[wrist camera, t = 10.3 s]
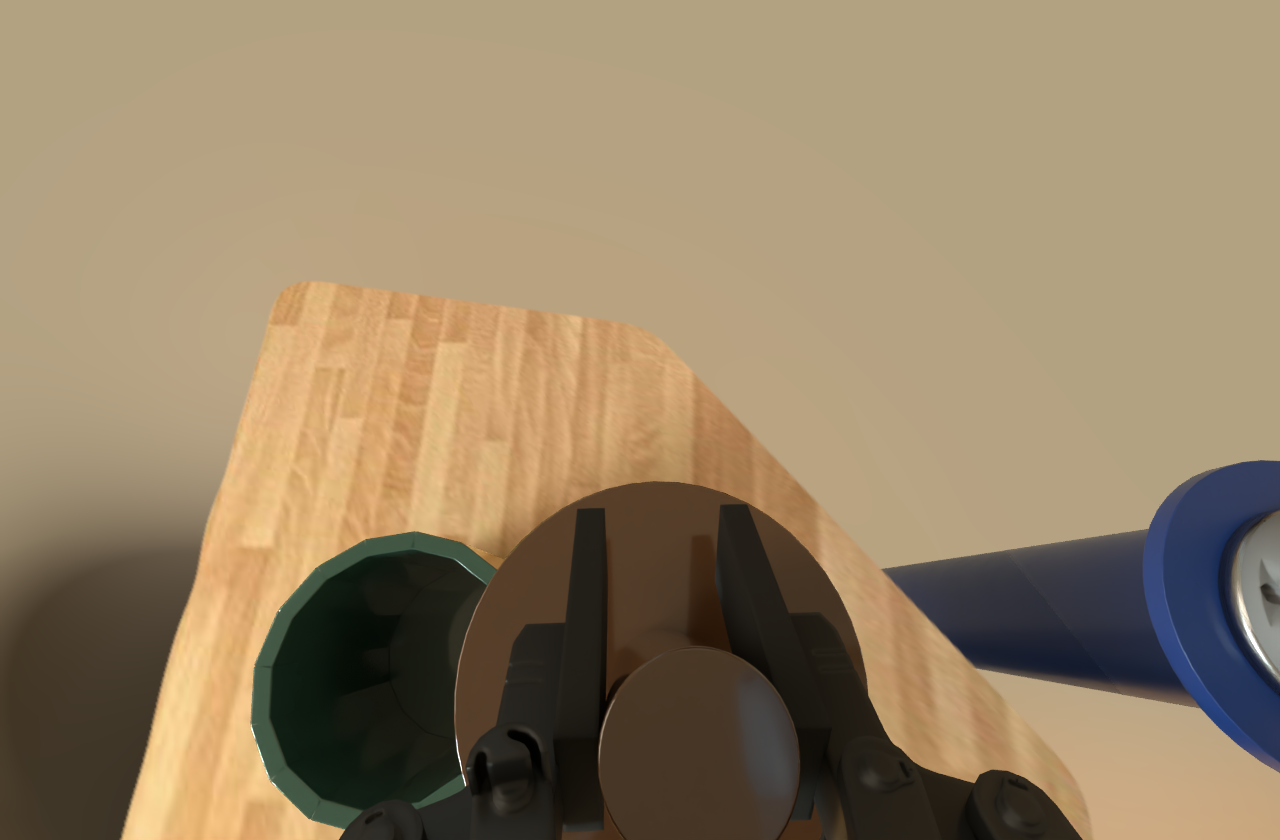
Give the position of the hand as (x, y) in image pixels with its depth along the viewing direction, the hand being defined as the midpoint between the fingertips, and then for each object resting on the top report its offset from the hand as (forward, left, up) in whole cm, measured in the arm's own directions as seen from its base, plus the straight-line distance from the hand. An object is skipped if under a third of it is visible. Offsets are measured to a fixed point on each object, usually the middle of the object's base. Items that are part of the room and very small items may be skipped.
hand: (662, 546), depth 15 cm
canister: (+2, +12, -22) cm, 25 cm away
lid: (-3, +2, -3) cm, 5 cm away
